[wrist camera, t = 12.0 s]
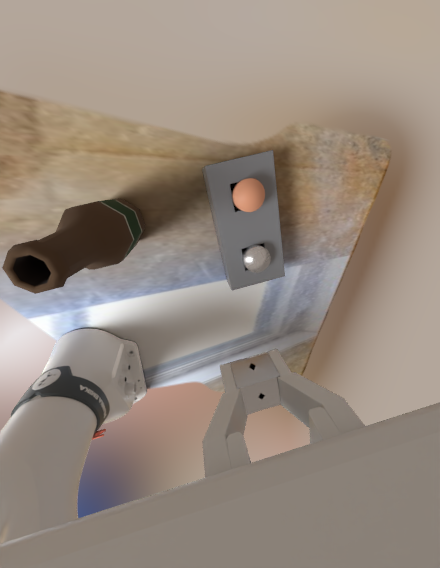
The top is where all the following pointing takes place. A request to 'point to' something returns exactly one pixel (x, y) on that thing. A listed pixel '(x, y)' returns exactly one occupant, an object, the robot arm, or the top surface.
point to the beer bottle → (76, 245)
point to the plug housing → (245, 217)
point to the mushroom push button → (248, 195)
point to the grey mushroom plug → (256, 258)
